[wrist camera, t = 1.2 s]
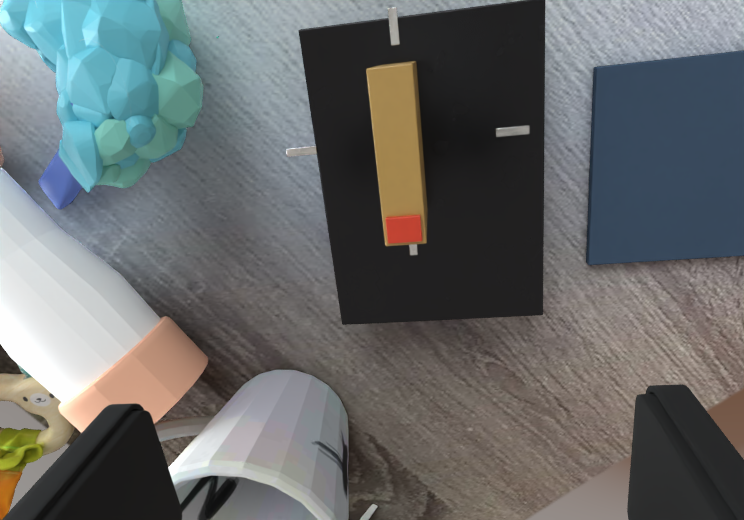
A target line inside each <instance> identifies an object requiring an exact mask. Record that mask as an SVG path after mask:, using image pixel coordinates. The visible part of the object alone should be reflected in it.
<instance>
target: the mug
mask: <svg viewBox="0 0 744 520" xmlns="http://www.w3.org/2000/svg"><path fill="white" fill-rule="evenodd" d="M154 425H155V429H156V432H157V435H158V438H159V441H164V440H168V439H173V438H178V437H184V436H192V435H197V437H196V438H195V439H194V440H193V441H192V442H191V443H190V444H189V445H188V447H187V448H186V449H185V450H184V451H183V452H182V453H181V454H180V455H179V457H178V458H177V459H176V460H175V461H174V462H173V463H172V464H171V465H170V466H169V468H168V469H169V472H170V475H171V478H172V481H173V484H174V487H175V490H176V493H177V496H178V499H179V502H180V506H181V509H182V520H349V437H348V416H347V413H346V411H345V408H344V406H343V404H342V402H341V400H340V398H339V397H338V396H337V394H336V393H335V392H334V391H333V390H332V389H331V388H330V387H329V386H328V385H327V384H326V383H324V382H322V381H321V380H319V379H317V378H316V377H314V376H313V375H310V374H306V373H303V372H300V371H296V370H277V369H276V370H273V371H269V372H265V373H261V374H259V375H257V376H255V377H254V378H252V379H251V380H249V381H248V382H246V383H245V384H244V385H243V386H242V387H241V388H240V389H239V390H238V391H237V392H236V393H235V395H234V396H233V397H232V398H231V399H230V400H229V401H228V402H227V403H226V404H225V406H224V407H223V408H222V409H221V410H220V411H219V412H218V413H217V414H216V416H194V417H185V418H177V419H172V420H167V421H162V422H158V423H155V424H154Z"/></svg>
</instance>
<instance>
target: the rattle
mask: <svg viewBox="0 0 744 520" xmlns="http://www.w3.org/2000/svg"><path fill="white" fill-rule="evenodd" d="M18 366H19V369H20V371H21V372H22V373H23V374H7V373H0V401H11V402H15V403H17V404H18V405H20V406H21V407H22V408H23V409H25V410H26V411H27V412H30V413H33V414H37V415H41V416H43V417H44V418H45V419H46V420H47V422H48V425H49V428H47V429H46V430H44V431H41V430H32V429H26V428H24V429H21V430H16V429H12V428H5V429H4V428H1V427H0V520H2V519H3V518H4V517H5V516H6V515H7V514H8V512H9V509H10V506H11V503H12V499H13V496H14V492H15V488H16V485H17V483H18V481H19V480H20V477H21V475H22V471H23V469H24V467H25V466H26V464H27V463H30V462H34V461H36V460H38V459H39V458H41V457H42V456H43V455H46V454H49V453H52V452H54V451H57V450H58V449H60V448H61V447H63V446H64V445H65V444H66V443H67V442H68V440H69V439H70V437H71V436H72V434H73V431H74V429H75V426H73V425H72V424H71V423H70V422H69V421H68V420H67V419H66V418H65V417H64V416H63V415H62V414H60V411H59V407H58V406H59V405H60V403H61V401H60V400H59V399H58V398H56V397H55V396H54V395H53V394H52V393H51V392H49V391H48V390H47V389H46V388H45V387H44V386H43V385H41V384H40V383H39V382H38V381H37V380H36V379H35V378H33V377H32V376H31V375H30V374H29V373H28V372H27V371H25V370H24V369H23V368H22V367H21V366H20V365H19V364H18Z"/></svg>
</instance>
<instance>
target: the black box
mask: <svg viewBox="0 0 744 520" xmlns="http://www.w3.org/2000/svg"><path fill="white" fill-rule="evenodd" d="M388 17H389V18H385V19H378V20H370V21H362V22H355V23H347V24H339V25H332V26H324V27H316V28H308V29H301V30H299V37H300V43H301V50H302V57H303V64H304V70H305V77H306V84H307V91H308V97H309V104H310V111H311V117H312V124H313V131H314V138H315V144H316V146H308V147H297V148H287V149H286V154H287V157H292V156H302V155H313V154H317V158H318V165H319V171H320V178H321V185H322V191H323V198H324V205H325V212H326V218H327V225H328V232H329V239H330V245H331V252H332V259H333V265H334V272H335V279H336V286H337V292H338V299H339V306H340V313H341V319H342V324H343V325H346V324H367V323H388V322H409V321H430V320H450V319H471V318H492V317H513V316H533V315H543V233H544V101H545V0H524V1H516V2H509V3H501V4H493V5H486V6H478V7H470V8H462V9H455V10H447V11H439V12H432V13H424V14H416V15H409V16H401V17H398V16H397V7H393V8H388ZM411 61H416V64H417V77H418V91H419V104H420V117H421V130H422V144H423V157H424V170H425V183H426V197H427V242H426V243H425V244H412V245H398V246H386V245H385V239H384V230H383V221H382V211H381V202H380V193H379V184H378V175H377V165H376V156H375V147H374V138H373V129H372V119H371V110H370V101H369V92H368V82H367V73H366V69H367V68H371V67H374V66H378V65H385V64H394V63H402V62H411Z"/></svg>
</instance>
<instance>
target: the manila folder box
mask: <svg viewBox="0 0 744 520" xmlns="http://www.w3.org/2000/svg"><path fill="white" fill-rule="evenodd" d="M366 73H367V82H368V92H369V101H370V110H371V119H372V129H373V138H374V147H375V156H376V165H377V175H378V184H379V193H380V202H381V211H382V221H383V230H384V239H385V245H386V246H398V245H412V244H425V243H426V242H427V197H426V183H425V170H424V157H423V144H422V130H421V117H420V104H419V91H418V77H417V64H416V61H411V62H402V63H394V64H385V65H378V66H374V67H371V68H367V69H366Z"/></svg>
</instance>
